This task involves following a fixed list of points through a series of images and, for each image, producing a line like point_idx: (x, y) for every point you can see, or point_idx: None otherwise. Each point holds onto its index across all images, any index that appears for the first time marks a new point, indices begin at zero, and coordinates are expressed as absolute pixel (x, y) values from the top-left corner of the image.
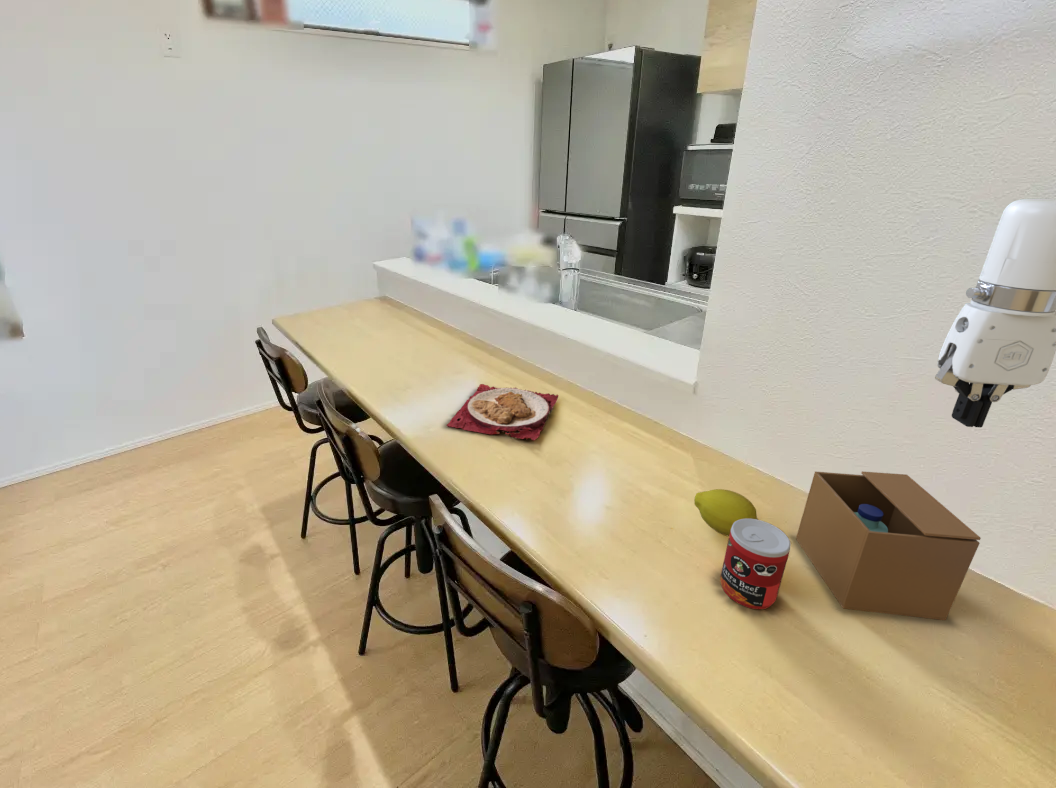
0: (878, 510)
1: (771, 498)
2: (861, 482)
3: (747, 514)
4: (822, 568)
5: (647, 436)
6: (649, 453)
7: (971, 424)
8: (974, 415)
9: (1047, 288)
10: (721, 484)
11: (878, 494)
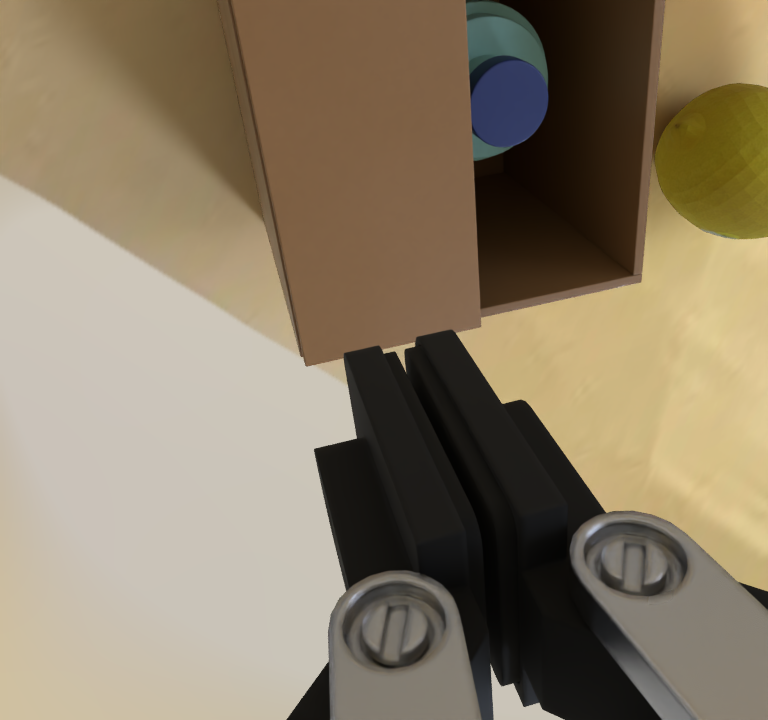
0: (481, 111)
1: (501, 351)
2: None
3: (754, 121)
4: None
5: (732, 513)
6: (759, 437)
7: (448, 338)
8: (482, 397)
9: None
10: (618, 366)
11: None
